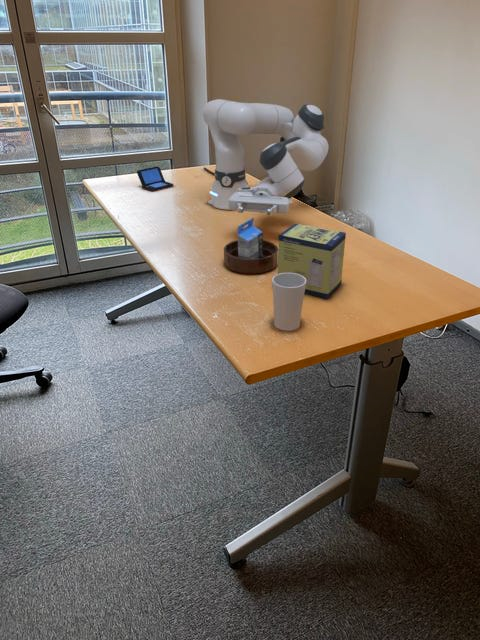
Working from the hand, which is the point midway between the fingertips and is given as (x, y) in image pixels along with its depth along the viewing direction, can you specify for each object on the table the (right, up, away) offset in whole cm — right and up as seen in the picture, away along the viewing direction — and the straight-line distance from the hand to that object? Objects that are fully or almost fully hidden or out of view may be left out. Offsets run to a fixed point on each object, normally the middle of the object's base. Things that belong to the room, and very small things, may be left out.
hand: (254, 211), depth 160 cm
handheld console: (-43, +26, +68) cm, 84 cm away
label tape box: (-1, -17, -5) cm, 18 cm away
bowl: (-1, -17, -5) cm, 18 cm away
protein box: (+15, -25, -18) cm, 34 cm away
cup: (+7, -36, -36) cm, 51 cm away
